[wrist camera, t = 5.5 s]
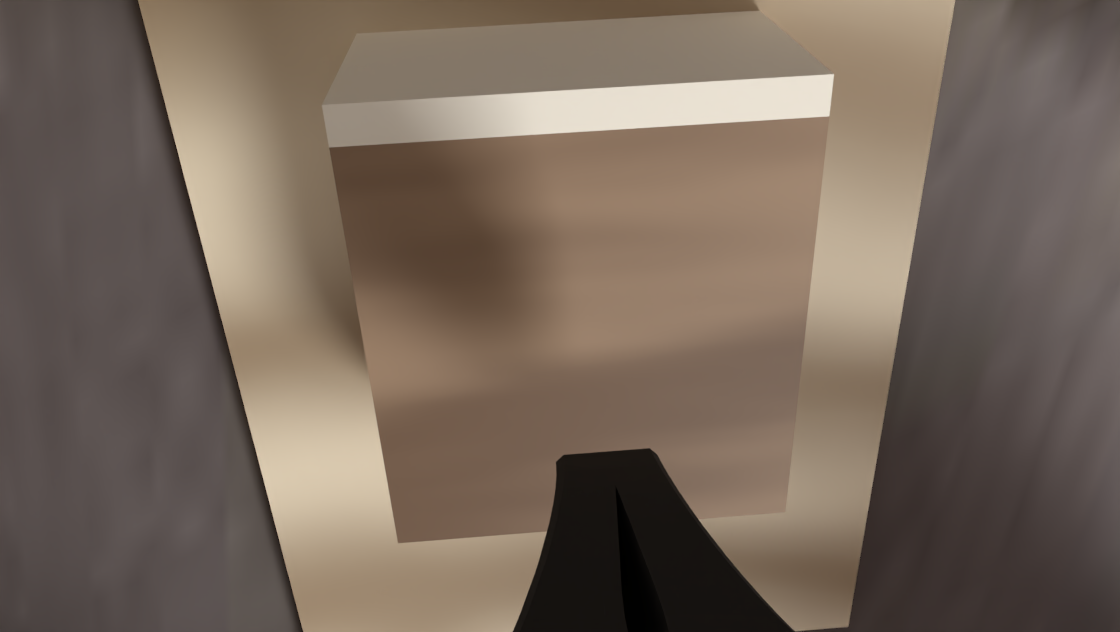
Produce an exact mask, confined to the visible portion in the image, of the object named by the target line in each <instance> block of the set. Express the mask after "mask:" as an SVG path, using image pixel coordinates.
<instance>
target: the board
mask: <svg viewBox="0 0 1120 632" xmlns="http://www.w3.org/2000/svg"><path fill="white" fill-rule="evenodd" d="M138 2H139V6H140V10H141V14H142V17H143V21H144V25H145V29H146V33H147V36H148V40H149V44H150V48H151V52H152V56H153V59H154V63H155V67H156V71H157V75H158V79H159V82H160V86H161V90H162V94H163V98H164V101H165V105H166V109H167V113H168V117H169V121H170V124H171V128H172V132H173V136H174V140H175V144H176V147H177V151H178V155H179V159H180V163H181V166H182V170H183V174H184V178H185V182H186V186H187V189H188V193H189V197H190V201H191V205H192V209H193V212H194V216H195V220H196V224H197V228H198V231H199V235H200V239H201V243H202V247H203V251H204V254H205V258H206V262H207V266H208V270H209V274H210V277H211V281H212V285H213V289H214V293H215V297H216V300H217V304H218V308H219V312H220V316H221V319H222V323H223V327H224V331H225V335H226V339H227V342H228V346H229V350H230V354H231V358H232V362H233V365H234V369H235V373H236V377H237V381H238V384H239V388H240V392H241V396H242V400H243V404H244V407H245V411H246V415H247V419H248V423H249V427H250V430H251V434H252V438H253V442H254V446H255V449H256V453H257V457H258V461H259V465H260V469H261V472H262V476H263V480H264V484H265V488H266V492H267V495H268V499H269V503H270V507H271V511H272V514H273V518H274V522H275V526H276V530H277V534H278V537H279V541H280V545H281V549H282V553H283V557H284V560H285V564H286V568H287V572H288V576H289V579H290V583H291V587H292V591H293V595H294V599H295V602H296V606H297V610H298V614H299V618H300V622H301V625H302V629H303V632H513V630H514V627H515V625H516V623H517V620H518V618H519V615H520V613H521V610H522V607H523V605H524V602H525V599H526V596H527V594H528V591H529V588H530V585H531V582H532V580H533V577H534V574H535V571H536V568H537V565H538V562H539V558H540V555H541V551H542V548H543V544H544V540H545V537H546V533H547V531H546V532H534V533H521V534H509V535H496V536H484V537H471V538H459V539H446V540H434V541H421V542H409V543H398V541H397V535H396V529H395V523H394V518H393V512H392V506H391V500H390V495H389V489H388V483H387V477H386V472H385V466H384V460H383V454H382V449H381V443H380V437H379V431H378V426H377V420H376V414H375V408H374V403H373V397H372V391H371V385H370V380H369V374H368V368H367V362H366V357H365V351H364V345H363V339H362V334H361V328H360V322H359V316H358V311H357V305H356V299H355V293H354V288H353V282H352V276H351V270H350V265H349V259H348V253H347V247H346V242H345V236H344V230H343V224H342V219H341V213H340V207H339V201H338V196H337V190H336V184H335V178H334V173H333V167H332V161H331V155H330V150H329V144H328V138H327V132H326V127H325V121H324V115H323V109H322V103H323V101H324V99H325V97H326V95H327V93H328V91H329V89H330V87H331V85H332V83H333V81H334V79H335V77H336V75H337V73H338V71H339V69H340V67H341V65H342V63H343V61H344V59H345V56H346V54H347V52H348V50H349V48H350V46H351V44H352V42H353V40H354V38H355V36H356V34H357V33H375V32H392V31H410V30H427V29H445V28H462V27H480V26H497V25H515V24H532V23H550V22H567V21H584V20H602V19H619V18H637V17H654V16H672V15H689V14H707V13H724V12H742V11H761V12H762V13H763V14H764V15H765V16H766V17H768V18H769V19H770V20H771V21H772V22H773V23H775V24H776V25H777V26H778V27H779V28H781V29H782V30H783V31H784V32H785V33H786V34H788V35H789V36H790V37H791V38H792V39H793V40H795V41H796V42H797V43H798V44H799V45H800V46H802V47H803V48H804V49H805V50H806V51H808V52H809V53H810V54H811V55H812V56H813V57H815V58H816V59H817V60H818V61H819V62H820V63H822V64H823V65H824V66H825V67H826V68H828V69H829V70H830V71H831V72H832V73H833V74H834V79H833V88H832V97H831V106H830V115H829V124H828V133H827V142H826V151H825V160H824V169H823V178H822V187H821V196H820V205H819V214H818V223H817V232H816V241H815V250H814V259H813V268H812V277H811V286H810V295H809V304H808V313H807V322H806V331H805V340H804V349H803V358H802V367H801V376H800V385H799V394H798V403H797V412H796V421H795V430H794V439H793V448H792V457H791V466H790V475H789V484H788V493H787V503H786V512H783V513H771V514H758V515H746V516H733V517H721V518H708V519H699V521H700V522H701V523H702V525H703V526H704V527H705V529H706V530H707V531H708V533H709V534H710V535H711V537H712V538H713V539H714V540H715V542H716V543H717V544H718V546H719V547H720V548H721V549H722V551H723V552H724V553H725V555H726V556H727V557H728V558H729V560H730V561H731V562H732V563H733V564H734V566H735V567H736V568H737V569H738V570H739V572H740V573H741V574H742V575H743V576H744V577H745V579H746V580H747V581H748V582H749V583H750V584H751V585H752V586H753V588H754V589H755V590H756V591H757V592H758V593H759V594H760V596H761V597H762V598H763V599H764V600H765V601H766V602H767V603H768V604H769V605H770V606H771V607H772V608H773V610H774V611H775V612H776V613H777V614H778V615H779V616H780V617H781V618H782V619H783V620H784V621H785V622H786V623H787V624H788V625H789V626H790V627H791V628H792V629H793V630H794V631H805V630H817V629H828V628H840V627H848V625H849V619H850V613H851V608H852V602H853V596H854V590H855V584H856V578H857V572H858V567H859V561H860V555H861V549H862V543H863V537H864V531H865V526H866V520H867V514H868V508H869V502H870V496H871V490H872V485H873V479H874V473H875V467H876V461H877V455H878V449H879V444H880V438H881V432H882V426H883V420H884V414H885V408H886V403H887V397H888V391H889V385H890V379H891V373H892V367H893V362H894V356H895V350H896V344H897V338H898V332H899V326H900V321H901V315H902V309H903V303H904V297H905V291H906V285H907V280H908V274H909V268H910V262H911V256H912V250H913V244H914V238H915V233H916V227H917V221H918V215H919V209H920V203H921V197H922V192H923V186H924V180H925V174H926V168H927V162H928V156H929V151H930V145H931V139H932V133H933V127H934V121H935V115H936V110H937V104H938V98H939V92H940V86H941V80H942V74H943V69H944V63H945V57H946V51H947V45H948V39H949V33H950V28H951V22H952V16H953V10H954V4H955V0H138Z"/></svg>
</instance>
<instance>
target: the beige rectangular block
mask: <svg viewBox="0 0 1120 632" xmlns="http://www.w3.org/2000/svg"><path fill="white" fill-rule="evenodd" d="M833 79H834V74H833V73H832V72H831V71H830V70H829V69H828V68H826V67H825V66H824V65H823V64H822V63H820V62H819V61H818V60H817V59H816V58H815V57H813V56H812V55H811V54H810V53H809V52H808V51H806V50H805V49H804V48H803V47H802V46H800V45H799V44H798V43H797V42H796V41H795V40H793V39H792V38H791V37H790V36H789V35H788V34H786V33H785V32H784V31H783V30H782V29H781V28H779V27H778V26H777V25H776V24H775V23H773V22H772V21H771V20H770V19H769V18H768V17H766V16H765V15H764V14H763V13H762V12H761V11H742V12H724V13H707V14H689V15H672V16H654V17H637V18H619V19H602V20H584V21H567V22H550V23H532V24H515V25H497V26H480V27H462V28H445V29H427V30H410V31H392V32H375V33H357V34H356V36H355V38H354V40H353V42H352V44H351V46H350V48H349V50H348V52H347V54H346V56H345V59H344V61H343V63H342V65H341V67H340V69H339V71H338V73H337V75H336V77H335V79H334V81H333V83H332V85H331V87H330V89H329V91H328V93H327V95H326V97H325V99H324V101H323V103H322V109H323V115H324V121H325V127H326V132H327V138H328V144H329V150H330V155H331V161H332V167H333V173H334V178H335V184H336V190H337V196H338V201H339V207H340V213H341V219H342V224H343V230H344V236H345V242H346V247H347V253H348V259H349V265H350V270H351V276H352V282H353V288H354V293H355V299H356V305H357V311H358V316H359V322H360V328H361V334H362V339H363V345H364V351H365V357H366V362H367V368H368V374H369V380H370V385H371V391H372V397H373V403H374V408H375V414H376V420H377V426H378V431H379V437H380V443H381V449H382V454H383V460H384V466H385V472H386V477H387V483H388V489H389V495H390V500H391V506H392V512H393V518H394V523H395V529H396V535H397V541H398V543H409V542H421V541H434V540H446V539H459V538H471V537H484V536H496V535H509V534H521V533H534V532H546V531H547V529H548V526H549V521H550V517H551V512H552V507H553V501H554V495H555V487H556V461H557V460H558V459H560V458H561V457H562V456H563V455H567V454H580V453H593V452H606V451H620V450H633V449H646V448H650V449H651V450H652V451H654V452H655V453H656V454H657V455H658V457H659V459H660V461H661V462H662V464H663V466H664V468H665V469H666V471H667V473H668V475H669V476H670V478H671V479H672V481H673V483H674V484H675V486H676V487H677V489H678V490H679V492H680V493H681V495H682V496H683V498H684V499H685V501H686V502H687V504H688V505H689V507H690V508H691V510H692V511H693V512H694V514H695V515H696V517H697V518H698V519H708V518H721V517H733V516H746V515H758V514H771V513H783V512H786V503H787V493H788V484H789V475H790V466H791V457H792V448H793V439H794V430H795V421H796V412H797V403H798V394H799V385H800V376H801V367H802V358H803V349H804V340H805V331H806V322H807V313H808V304H809V295H810V286H811V277H812V268H813V259H814V250H815V241H816V232H817V223H818V214H819V205H820V196H821V187H822V178H823V169H824V160H825V151H826V142H827V133H828V124H829V115H830V106H831V97H832V88H833Z"/></svg>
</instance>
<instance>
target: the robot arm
mask: <svg viewBox="0 0 1120 632" xmlns="http://www.w3.org/2000/svg"><path fill="white" fill-rule="evenodd" d="M513 632H795V631H794V630H793V629H792V628H791V627H790V626H789V625H788V624H787V623H786V622H785V621H784V620H783V619H782V618H781V617H780V616H779V615H778V614H777V613H776V612H775V611H774V610H773V608H772V607H771V606H770V605H769V604H768V603H767V602H766V601H765V600H764V599H763V598H762V597H761V596H760V594H759V593H758V592H757V591H756V590H755V589H754V588H753V586H752V585H751V584H750V583H749V582H748V581H747V580H746V579H745V577H744V576H743V575H742V574H741V573H740V572H739V570H738V569H737V568H736V567H735V566H734V564H733V563H732V562H731V561H730V560H729V558H728V557H727V556H726V555H725V553H724V552H723V551H722V549H721V548H720V547H719V546H718V544H717V543H716V542H715V540H714V539H713V538H712V537H711V535H710V534H709V533H708V531H707V530H706V529H705V527H704V526H703V525H702V523H701V522H700V521H699V519H698V518H697V517H696V515H695V514H694V512H693V511H692V510H691V508H690V507H689V505H688V504H687V502H686V501H685V499H684V498H683V496H682V495H681V493H680V492H679V490H678V489H677V487H676V486H675V484H674V483H673V481H672V479H671V478H670V476H669V475H668V473H667V471H666V469H665V468H664V466H663V464H662V462H661V461H660V459H659V457H658V455H657V454H656V453H655V452H654V451H652V450H651V449H650V448H646V449H633V450H620V451H606V452H593V453H580V454H567V455H563V456H562V457H561V458H560V459H558V460H557V461H556V487H555V495H554V501H553V507H552V512H551V517H550V521H549V526H548V529H547V533H546V537H545V540H544V544H543V548H542V551H541V555H540V558H539V562H538V565H537V568H536V571H535V574H534V577H533V580H532V582H531V585H530V588H529V591H528V594H527V596H526V599H525V602H524V605H523V607H522V610H521V613H520V615H519V618H518V620H517V623H516V625H515V627H514V630H513Z"/></svg>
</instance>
